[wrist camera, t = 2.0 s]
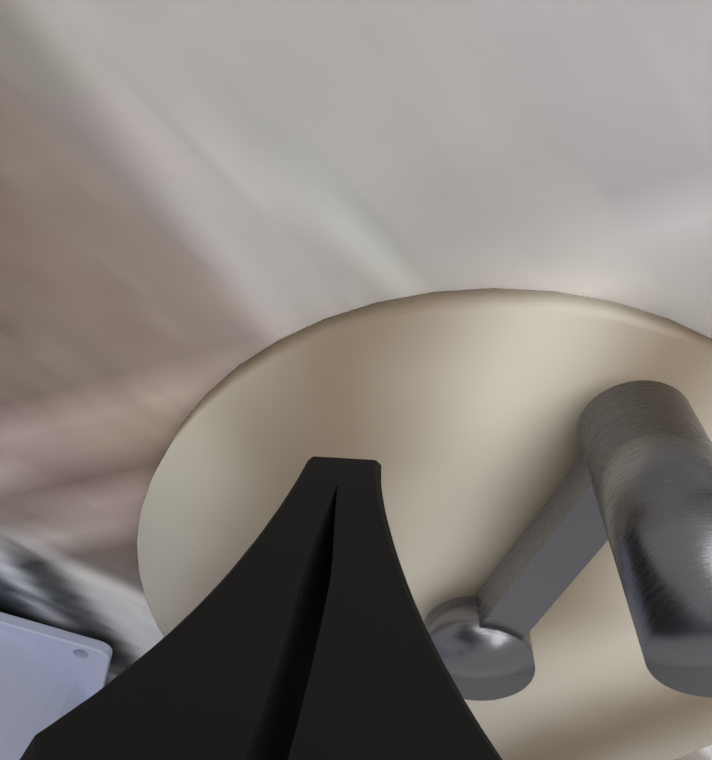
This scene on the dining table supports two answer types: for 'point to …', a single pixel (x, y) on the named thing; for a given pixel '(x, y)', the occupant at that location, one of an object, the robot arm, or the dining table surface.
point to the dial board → (445, 483)
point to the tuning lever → (588, 535)
